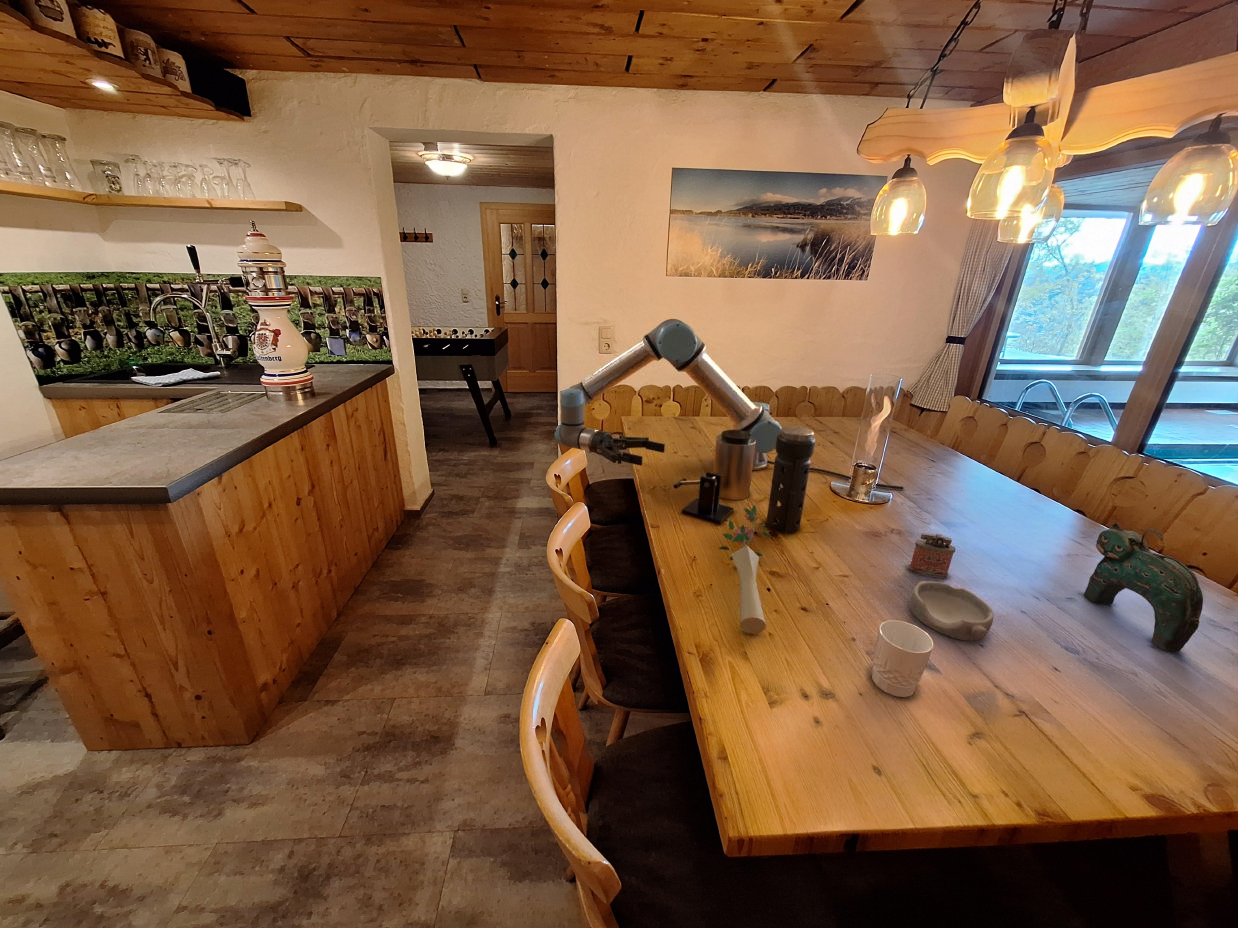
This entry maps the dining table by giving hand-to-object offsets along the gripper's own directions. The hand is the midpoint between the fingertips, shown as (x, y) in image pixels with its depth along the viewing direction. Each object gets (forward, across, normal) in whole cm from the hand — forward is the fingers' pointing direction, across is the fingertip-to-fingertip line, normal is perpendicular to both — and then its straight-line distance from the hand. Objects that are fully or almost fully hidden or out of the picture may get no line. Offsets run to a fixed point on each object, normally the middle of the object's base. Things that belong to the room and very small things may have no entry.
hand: (653, 454), depth 148 cm
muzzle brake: (+40, -4, -15) cm, 43 cm away
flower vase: (+41, +28, -14) cm, 52 cm away
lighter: (+75, -1, -15) cm, 76 cm away
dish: (+79, +16, -15) cm, 82 cm away
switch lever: (+15, 0, -7) cm, 16 cm away
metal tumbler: (+19, -18, -14) cm, 30 cm away
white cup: (+72, +41, -15) cm, 84 cm away
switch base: (+19, 0, -14) cm, 24 cm away
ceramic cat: (+110, -5, -15) cm, 112 cm away
